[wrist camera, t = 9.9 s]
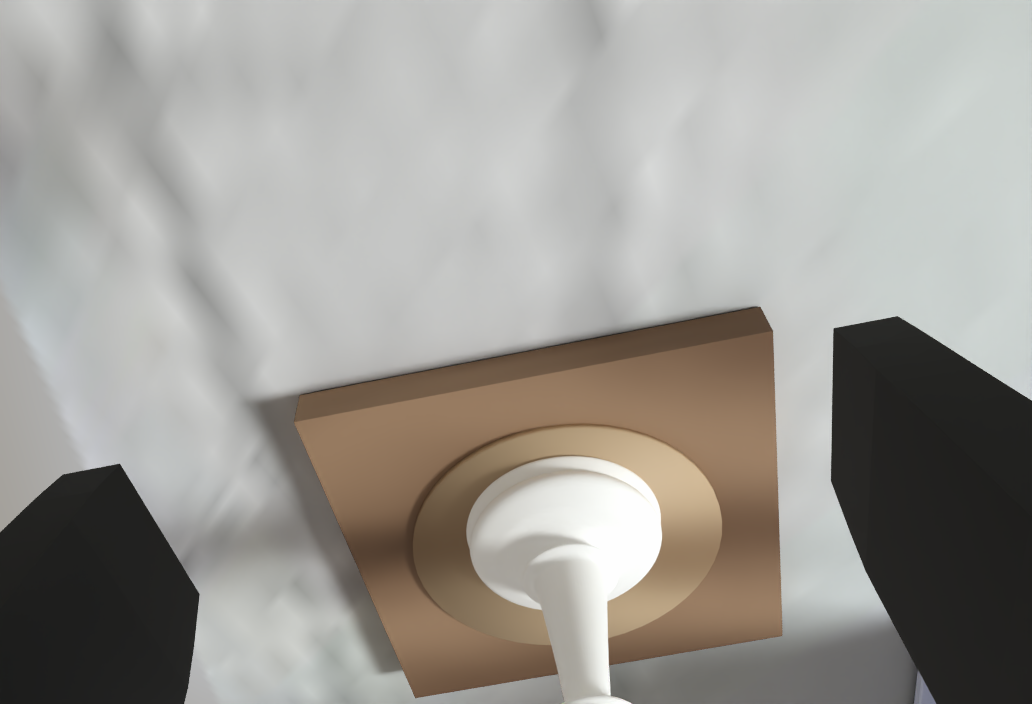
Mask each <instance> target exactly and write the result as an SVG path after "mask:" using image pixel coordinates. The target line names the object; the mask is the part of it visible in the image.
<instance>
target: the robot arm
mask: <svg viewBox="0 0 1032 704" xmlns="http://www.w3.org/2000/svg"><path fill="white" fill-rule="evenodd" d="M831 482H832V485H833V487H834V490H835V493H836V495H837V498H838V501H839V504H840V506H841V509H842V512H843V514H844V517H845V520H846V522H847V525H848V528H849V530H850V533H851V535H852V538H853V540H854V543H855V545H856V548H857V550H858V553H859V555H860V558H861V560H862V563H863V566H864V568H865V571H866V573H867V574H868V576H869V578H870V580H871V582H872V584H873V586H874V588H875V590H876V592H877V594H878V596H879V598H880V599H881V601H882V603H883V605H884V607H885V609H886V611H887V613H888V614H889V616H890V618H891V620H892V622H893V624H894V626H895V628H896V630H897V631H898V633H899V635H900V637H901V639H902V641H903V643H904V645H905V647H906V648H907V650H908V652H909V654H910V656H911V658H912V660H913V661H914V663H915V665H916V667H917V669H918V673H917V682H916V690H915V699H914V704H1032V401H1031V400H1030V399H1028V398H1027V397H1025V396H1023V395H1022V394H1020V393H1018V392H1017V391H1015V390H1014V389H1012V388H1011V387H1009V386H1007V385H1006V384H1004V383H1003V382H1001V381H999V380H998V379H996V378H995V377H993V376H992V375H990V374H988V373H987V372H985V371H984V370H982V369H981V368H979V367H977V366H976V365H974V364H973V363H971V362H970V361H968V360H966V359H965V358H963V357H962V356H960V355H959V354H957V353H956V352H954V351H952V350H951V349H949V348H948V347H946V346H945V345H943V344H941V343H940V342H938V341H937V340H935V339H934V338H932V337H930V336H929V335H927V334H926V333H924V332H923V331H921V330H919V329H918V328H916V327H915V326H913V325H911V324H910V323H908V322H906V321H905V320H903V319H901V318H900V317H898V316H897V317H891V318H886V319H881V320H876V321H870V322H865V323H860V324H854V325H849V326H844V327H839V328H834V334H833V395H832V456H831ZM198 603H199V593H198V591H197V589H196V588H195V586H194V584H193V583H192V581H191V580H190V578H189V576H188V575H187V573H186V571H185V570H184V568H183V566H182V565H181V563H180V562H179V560H178V558H177V557H176V555H175V553H174V552H173V550H172V548H171V547H170V545H169V543H168V542H167V540H166V539H165V537H164V535H163V534H162V532H161V530H160V529H159V527H158V525H157V524H156V522H155V521H154V519H153V517H152V516H151V514H150V512H149V511H148V509H147V507H146V506H145V504H144V502H143V501H142V499H141V498H140V496H139V494H138V493H137V491H136V489H135V488H134V486H133V484H132V483H131V481H130V480H129V478H128V476H127V475H126V473H125V471H124V470H123V468H122V466H121V465H120V464H116V465H111V466H106V467H101V468H95V469H90V470H85V471H79V472H75V473H69V474H64V475H62V476H61V477H60V478H59V479H57V480H56V481H55V482H54V483H53V484H52V485H51V486H49V487H48V488H47V489H46V490H45V491H43V492H42V493H41V494H40V495H39V496H38V497H37V498H36V499H35V500H34V501H33V502H31V503H30V504H29V506H27V507H26V508H25V509H24V510H23V511H22V512H21V513H20V514H19V515H18V516H17V517H16V518H15V519H14V520H13V521H12V522H11V523H10V524H8V525H7V527H5V528H4V530H2V531H1V532H0V704H184V701H185V698H186V693H187V689H188V684H189V677H190V670H191V662H192V656H193V649H194V641H195V631H196V622H197V613H198Z"/></svg>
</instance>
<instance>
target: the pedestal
mask: <svg viewBox="0 0 1032 704" xmlns="http://www.w3.org/2000/svg"><path fill="white" fill-rule="evenodd" d="M294 424H295V426H296V428H297V431H298V433H299V435H300V437H301V440H302V442H303V444H304V446H305V449H306V451H307V453H308V456H309V458H310V460H311V462H312V465H313V467H314V469H315V471H316V474H317V476H318V478H319V480H320V483H321V485H322V487H323V490H324V492H325V494H326V496H327V499H328V501H329V503H330V505H331V508H332V510H333V512H334V514H335V517H336V519H337V521H338V524H339V526H340V528H341V530H342V533H343V535H344V537H345V539H346V542H347V544H348V546H349V549H350V551H351V553H352V555H353V558H354V560H355V562H356V564H357V567H358V569H359V571H360V573H361V576H362V578H363V580H364V583H365V585H366V587H367V589H368V592H369V594H370V596H371V598H372V601H373V603H374V605H375V608H376V610H377V612H378V614H379V617H380V619H381V621H382V623H383V626H384V628H385V630H386V632H387V635H388V637H389V639H390V642H391V644H392V646H393V648H394V651H395V653H396V655H397V657H398V660H399V662H400V664H401V667H402V669H403V671H404V673H405V676H406V678H407V680H408V682H409V685H410V687H411V689H412V691H413V694H414V696H415V698H419V697H424V696H430V695H436V694H442V693H448V692H454V691H460V690H466V689H472V688H478V687H484V686H489V685H495V684H501V683H507V682H513V681H519V680H525V679H531V678H537V677H543V676H548V675H554V674H558V670H557V666H556V662H555V658H554V654H553V650H552V646H551V642H550V638H549V635H548V631H547V627H546V623H545V619H544V616H543V612H542V610H538V609H532V608H528V607H524V606H521V605H518V604H515V603H513V602H510V601H508V600H506V599H504V598H502V597H501V596H499V595H498V594H496V593H495V592H493V591H492V590H491V589H490V588H489V587H487V586H486V585H485V583H484V582H483V581H482V580H481V579H480V577H479V576H478V574H477V572H476V571H475V569H474V566H473V564H472V560H471V556H470V549H469V546H468V542H467V535H466V528H467V521H468V517H469V514H470V512H471V509H472V507H473V505H474V504H475V502H476V500H477V499H478V497H479V496H480V495H481V494H482V493H483V491H484V490H485V489H486V488H487V487H488V486H489V485H491V484H492V483H493V482H494V481H495V480H497V479H498V478H500V477H501V476H503V475H504V474H506V473H508V472H509V471H511V470H513V469H515V468H518V467H520V466H522V465H525V464H528V463H530V462H534V461H537V460H541V459H546V458H552V457H560V456H585V457H593V458H598V459H603V460H606V461H610V462H613V463H615V464H618V465H620V466H622V467H624V468H626V469H628V470H630V471H632V472H633V473H635V474H636V475H637V476H639V477H640V478H641V479H642V480H643V481H644V482H645V483H646V484H647V485H648V486H649V487H650V489H651V490H652V492H653V493H654V495H655V497H656V499H657V501H658V504H659V508H660V513H661V529H662V542H661V548H660V551H659V554H658V557H657V559H656V561H655V563H654V564H653V566H652V568H651V569H650V570H649V572H648V573H647V574H646V575H645V576H644V577H643V578H642V580H641V581H639V582H638V583H637V584H636V585H635V586H633V587H632V588H631V589H629V590H628V591H626V592H625V593H623V594H621V595H620V596H618V597H616V598H614V599H612V600H609V601H607V615H608V652H609V665H613V664H619V663H625V662H631V661H637V660H643V659H649V658H655V657H661V656H667V655H672V654H678V653H684V652H690V651H696V650H702V649H708V648H714V647H720V646H726V645H732V644H737V643H743V642H749V641H755V640H761V639H767V638H773V637H779V636H782V605H781V573H780V542H779V510H778V478H777V446H776V414H775V382H774V351H773V330H772V328H771V326H770V325H769V323H768V321H767V319H766V317H765V315H764V313H763V311H762V309H761V307H757V308H751V309H746V310H741V311H736V312H731V313H725V314H720V315H715V316H710V317H705V318H699V319H694V320H689V321H684V322H679V323H673V324H668V325H663V326H658V327H653V328H647V329H642V330H637V331H632V332H627V333H621V334H616V335H611V336H606V337H601V338H595V339H590V340H585V341H580V342H575V343H569V344H564V345H559V346H554V347H548V348H543V349H538V350H533V351H528V352H522V353H517V354H512V355H507V356H502V357H496V358H491V359H486V360H481V361H476V362H470V363H465V364H460V365H455V366H450V367H444V368H439V369H434V370H429V371H424V372H418V373H413V374H408V375H403V376H398V377H392V378H387V379H382V380H377V381H372V382H366V383H361V384H356V385H351V386H345V387H340V388H335V389H330V390H325V391H319V392H314V393H309V394H304V395H300V396H299V401H298V405H297V410H296V414H295V419H294Z"/></svg>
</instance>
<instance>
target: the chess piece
mask: <svg viewBox="0 0 1032 704" xmlns="http://www.w3.org/2000/svg"><path fill="white" fill-rule="evenodd" d="M466 535H467V542H468V546H469V549H470V556H471V560H472V564H473V566H474V569H475V571H476V572H477V574H478V576H479V577H480V579H481V580H482V581H483V582H484V583H485V585H486V586H487V587H489V588H490V589H491V590H492V591H493V592H495V593H496V594H498V595H499V596H501V597H502V598H504V599H506V600H508V601H510V602H513V603H515V604H518V605H521V606H524V607H528V608H532V609H538V610H542V612H543V616H544V619H545V623H546V627H547V631H548V635H549V638H550V642H551V646H552V650H553V654H554V658H555V662H556V666H557V670H558V675H559V680H560V685H561V689H562V694H563V698H564V702H563V703H561V704H632V703H630V702H628V701H626V700H624V699H621V698H618V697H613V696H611V694H610V674H609V652H608V615H607V601H609V600H612V599H614V598H616V597H618V596H620V595H621V594H623V593H625V592H626V591H628V590H629V589H631V588H632V587H633V586H635V585H636V584H637V583H638V582H639V581H641V580H642V578H643V577H644V576H645V575H646V574H647V573H648V572H649V570H650V569H651V568H652V566H653V564H654V563H655V561H656V559H657V557H658V554H659V551H660V548H661V542H662V529H661V513H660V508H659V504H658V501H657V499H656V497H655V495H654V493H653V492H652V490H651V489H650V487H649V486H648V485H647V484H646V483H645V482H644V481H643V480H642V479H641V478H640V477H639V476H637V475H636V474H635V473H633V472H632V471H630V470H628V469H626V468H624V467H622V466H620V465H618V464H615V463H613V462H610V461H606V460H603V459H598V458H593V457H585V456H560V457H552V458H546V459H541V460H537V461H534V462H530V463H528V464H525V465H522V466H520V467H518V468H515V469H513V470H511V471H509V472H508V473H506V474H504V475H503V476H501V477H500V478H498V479H497V480H495V481H494V482H493V483H492V484H491V485H489V486H488V487H487V488H486V489H485V490H484V491H483V493H482V494H481V495H480V496H479V497H478V499H477V500H476V502H475V504H474V505H473V507H472V509H471V512H470V514H469V517H468V521H467V528H466Z"/></svg>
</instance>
